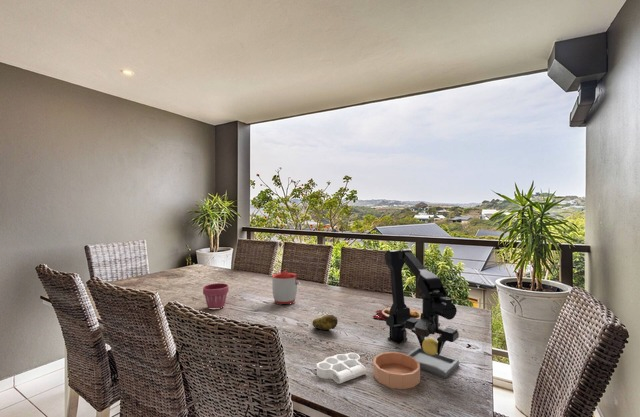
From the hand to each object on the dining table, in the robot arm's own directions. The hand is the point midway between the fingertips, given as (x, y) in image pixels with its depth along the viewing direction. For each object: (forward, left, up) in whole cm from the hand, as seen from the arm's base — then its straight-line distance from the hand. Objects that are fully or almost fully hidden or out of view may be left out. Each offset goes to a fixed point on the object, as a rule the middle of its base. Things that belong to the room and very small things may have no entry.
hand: (430, 351), depth 115 cm
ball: (0, 0, +2) cm, 2 cm away
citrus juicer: (-97, +9, -5) cm, 97 cm away
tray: (0, 0, -4) cm, 5 cm away
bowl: (-5, -16, -4) cm, 17 cm away
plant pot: (-119, -26, -5) cm, 122 cm away
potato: (-50, -5, -5) cm, 50 cm away
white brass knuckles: (-21, -27, -5) cm, 34 cm away
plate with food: (-34, +39, -5) cm, 52 cm away
